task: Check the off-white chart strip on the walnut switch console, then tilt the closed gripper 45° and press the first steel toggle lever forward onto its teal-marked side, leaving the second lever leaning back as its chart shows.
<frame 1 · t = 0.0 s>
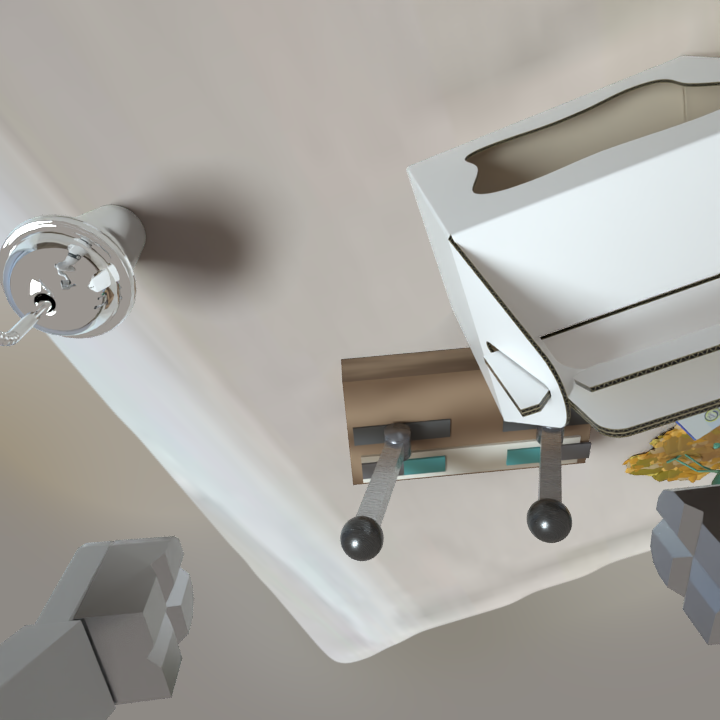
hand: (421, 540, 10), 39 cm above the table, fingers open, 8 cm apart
cup with straw: (116, 228, 45), on the table
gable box: (555, 193, 46), on the table
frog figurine: (703, 437, 60), on the table
lever two: (550, 471, 46), point 11 cm above the table, hinge at -20.0°
lever one: (381, 487, 46), point 11 cm above the table, hinge at -20.0°
switch console: (466, 400, 56), on the table
medicine box: (642, 351, 54), on the table
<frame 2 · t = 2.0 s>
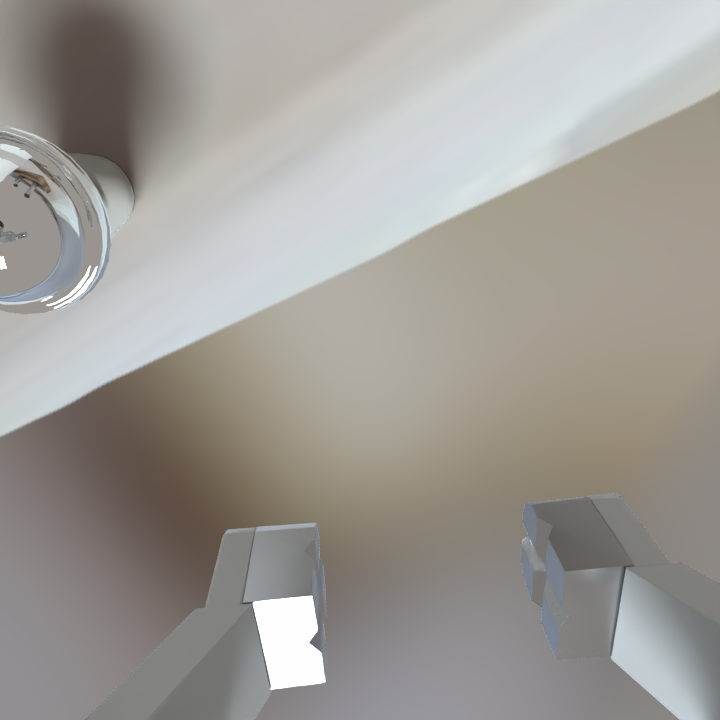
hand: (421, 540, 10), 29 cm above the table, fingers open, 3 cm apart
cup with straw: (93, 194, 35), on the table
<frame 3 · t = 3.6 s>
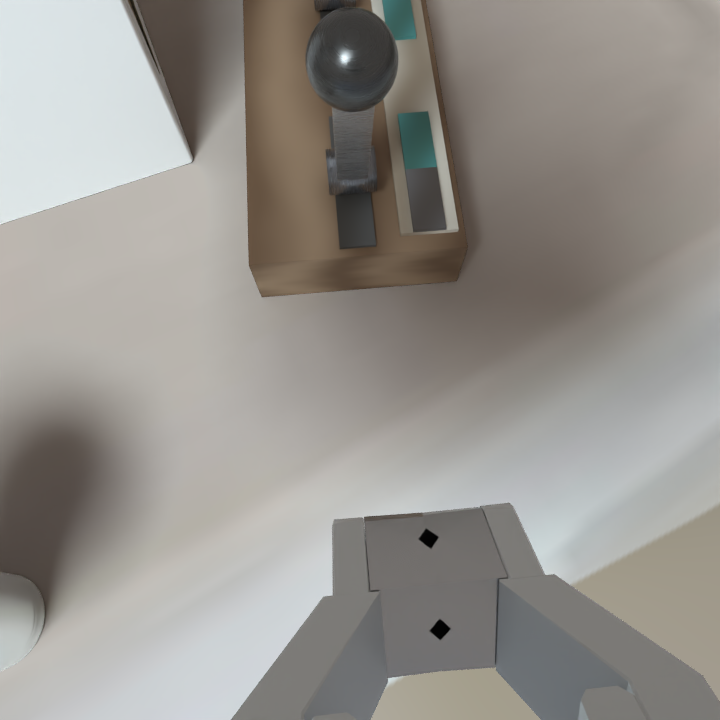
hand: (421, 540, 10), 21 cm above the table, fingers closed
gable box: (66, 79, 41), on the table
lever one: (351, 126, 25), point 11 cm above the table, hinge at -20.0°
switch console: (344, 131, 38), on the table
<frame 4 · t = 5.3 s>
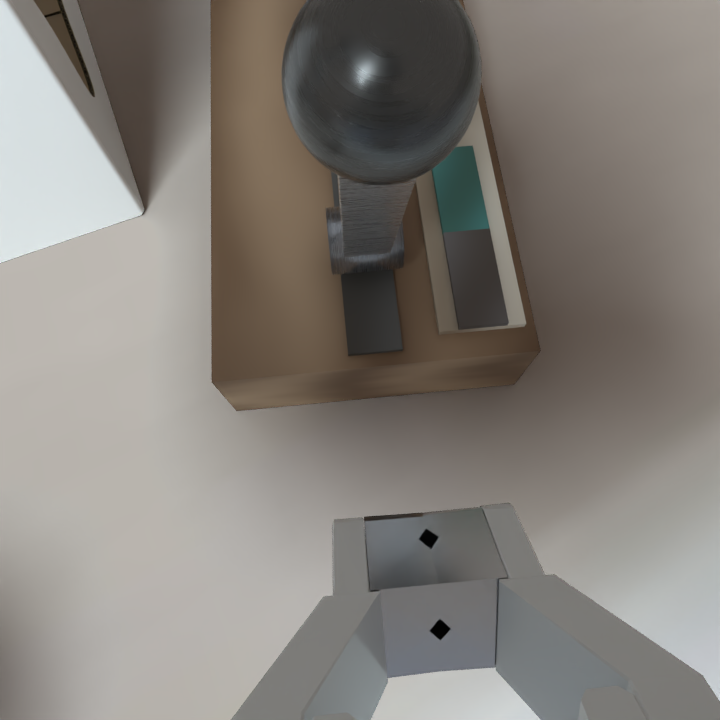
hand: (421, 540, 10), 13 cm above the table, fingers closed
lever one: (369, 188, 15), point 11 cm above the table, hinge at -20.0°
switch console: (351, 169, 28), on the table
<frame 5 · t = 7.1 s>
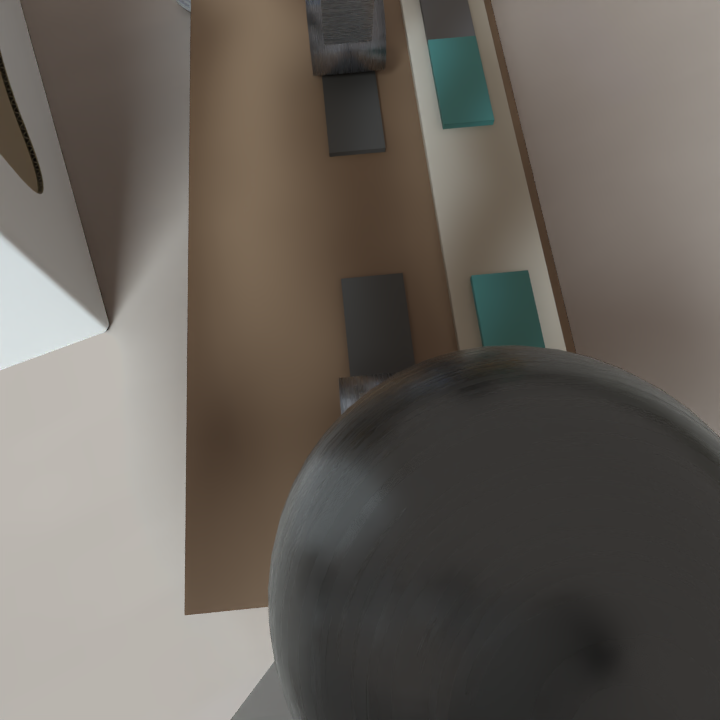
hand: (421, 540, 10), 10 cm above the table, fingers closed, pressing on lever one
lever one: (415, 452, 9), point 11 cm above the table, hinge at -19.7°, touching gripper
switch console: (365, 271, 23), on the table
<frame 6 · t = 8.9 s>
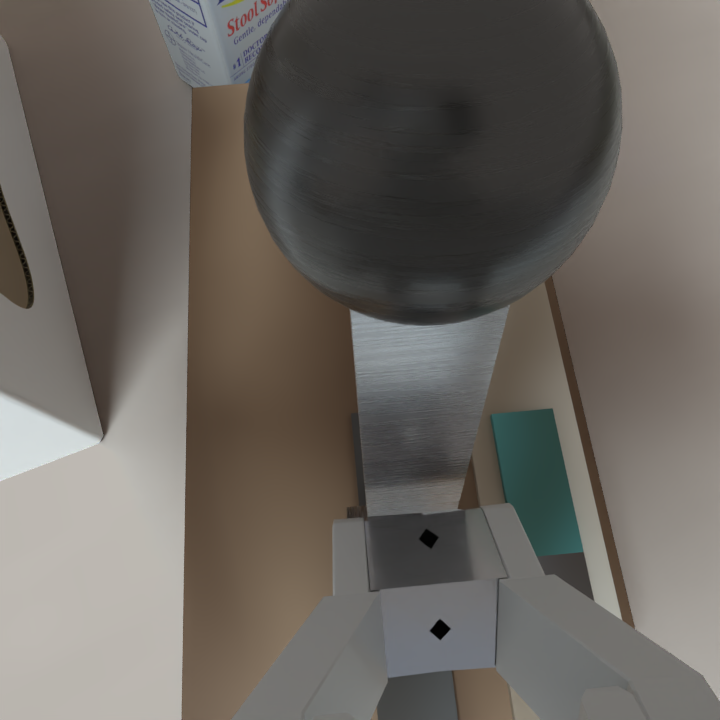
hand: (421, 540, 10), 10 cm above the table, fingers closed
lever one: (408, 439, 9), point 11 cm above the table, hinge at 16.2°
switch console: (374, 376, 22), on the table
medicine box: (267, 58, 28), on the table
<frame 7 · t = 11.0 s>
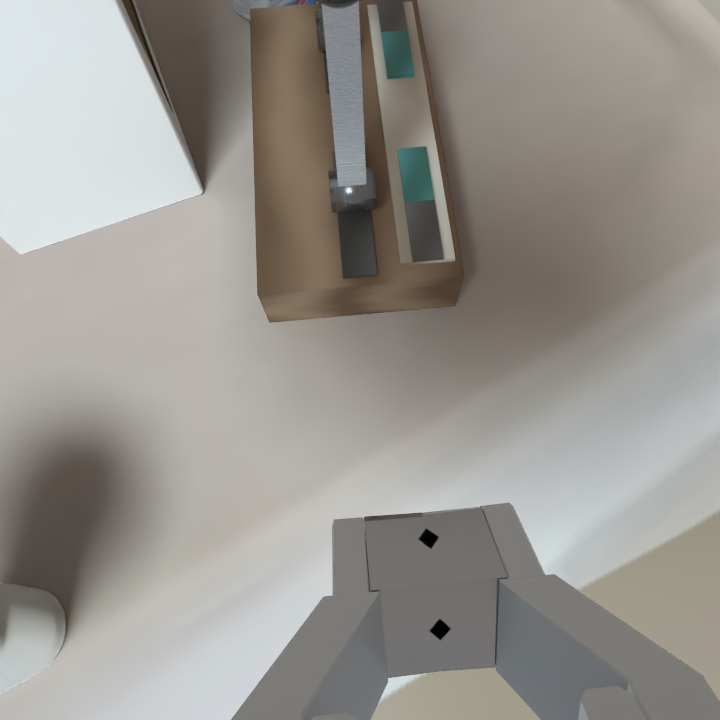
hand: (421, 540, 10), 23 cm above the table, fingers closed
cup with straw: (21, 633, 30), on the table
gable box: (83, 114, 43), on the table
lever one: (345, 91, 28), point 11 cm above the table, hinge at 16.2°
switch console: (347, 163, 40), on the table
medicine box: (287, 1, 47), on the table
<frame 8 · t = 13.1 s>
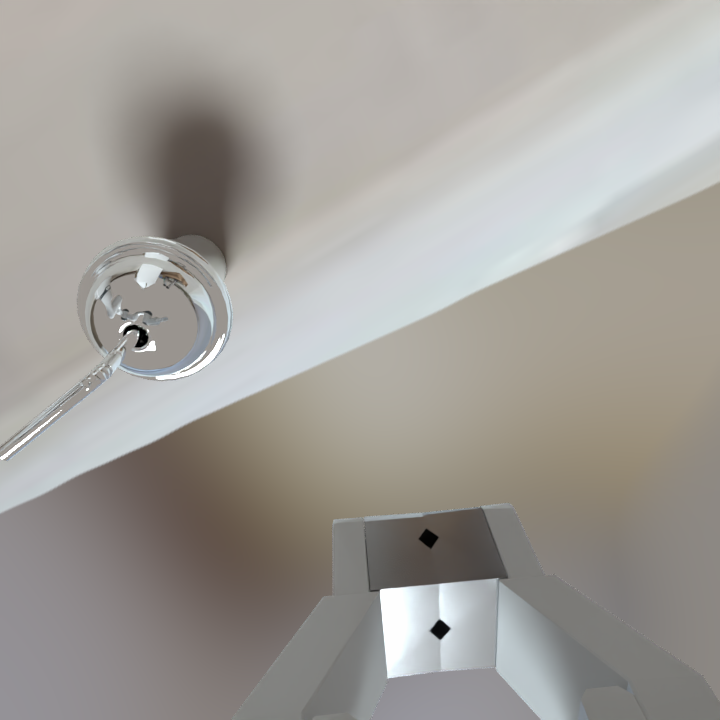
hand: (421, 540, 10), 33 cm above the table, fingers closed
cup with straw: (191, 265, 41), on the table
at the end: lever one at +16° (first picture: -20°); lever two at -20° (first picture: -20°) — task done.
